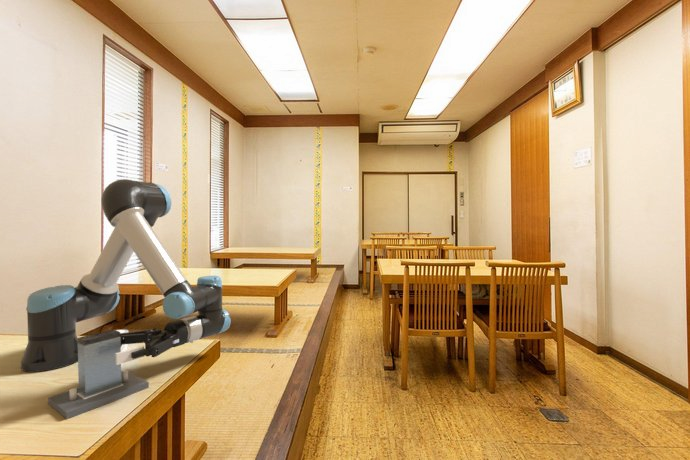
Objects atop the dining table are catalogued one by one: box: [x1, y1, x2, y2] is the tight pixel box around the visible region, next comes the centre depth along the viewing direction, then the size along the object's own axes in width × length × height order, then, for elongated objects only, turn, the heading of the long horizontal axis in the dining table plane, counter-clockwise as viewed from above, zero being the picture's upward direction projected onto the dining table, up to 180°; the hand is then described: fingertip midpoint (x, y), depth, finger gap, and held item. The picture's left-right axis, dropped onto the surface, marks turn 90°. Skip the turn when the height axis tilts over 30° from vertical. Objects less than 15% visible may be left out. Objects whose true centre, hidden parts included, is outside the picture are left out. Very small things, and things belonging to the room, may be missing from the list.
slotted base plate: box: [47, 370, 150, 420], centre depth 90 cm, size 12×18×4 cm, turn 146°
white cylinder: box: [115, 328, 129, 352], centre depth 119 cm, size 7×7×7 cm
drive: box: [77, 329, 122, 398], centre depth 90 cm, size 4×8×14 cm, turn 146°
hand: (103, 353), depth 90 cm, fingers open, 13 cm apart
